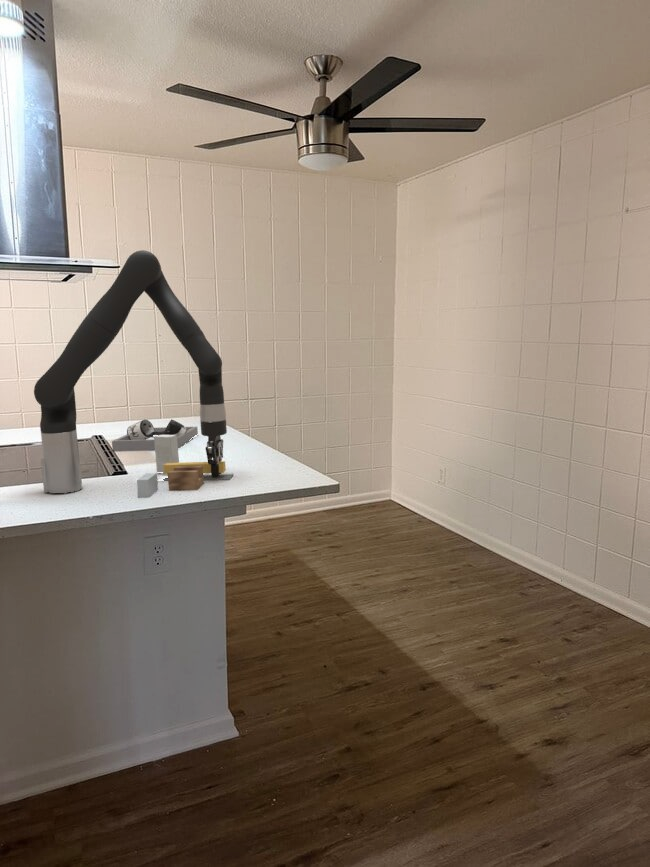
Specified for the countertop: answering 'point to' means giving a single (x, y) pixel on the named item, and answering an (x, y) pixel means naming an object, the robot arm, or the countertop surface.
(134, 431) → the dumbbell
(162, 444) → the skincare box
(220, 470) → the yellow bar
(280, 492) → the countertop surface
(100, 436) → the countertop surface
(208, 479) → the mat
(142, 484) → the gray rectangular block
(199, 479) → the cradle
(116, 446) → the bucket corral
